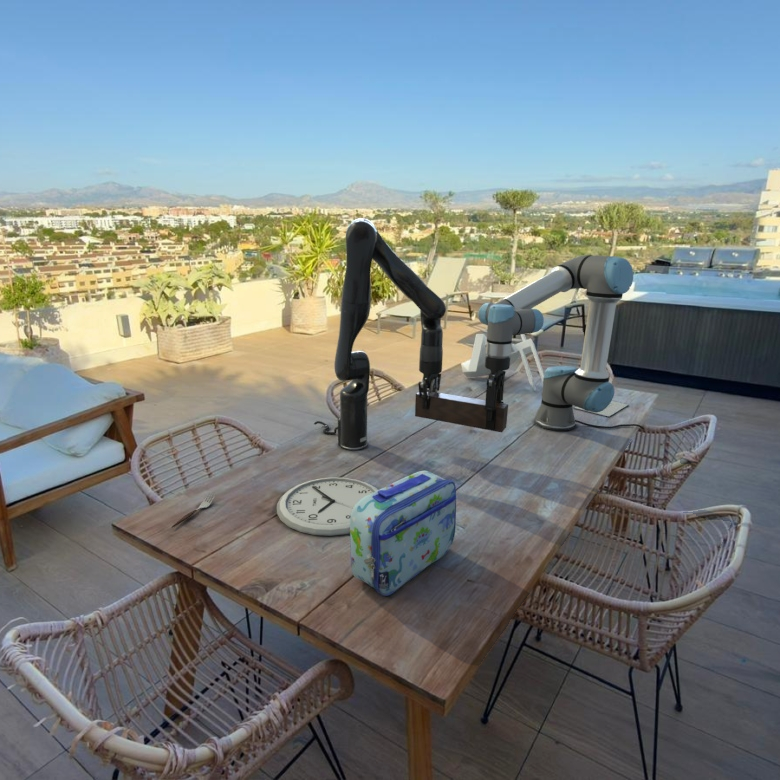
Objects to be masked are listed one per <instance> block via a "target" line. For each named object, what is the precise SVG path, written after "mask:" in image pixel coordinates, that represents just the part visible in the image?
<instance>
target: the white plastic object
mask: <svg viewBox="0 0 780 780" xmlns="http://www.w3.org/2000/svg"><path fill="white" fill-rule="evenodd" d="M519 336H520V338H521V341H520V342H517V343H512V345H511V355H510V356H509V357H510V366H511V365H512V364H515V362H517V361H518V360H520V359H521V361H522V364H523V367H524V370H525V373H526V377H527V379H528V382H529V384H530V387H532V389H533V390H534V391H537V390H536V389H537V387H536V383H535V380H534V376H533V373H532V370H531V368H530V365H529V362H528V358H527V355H528V354H531V353H532V355H533V357H534V362H535V364H536V367H537V371H538V374H539V376H540V379H541V382H542V383H543V380H544V379H543V378H544V375H545V371H544V369H543V366H542V362H541V360H540V356H539V355H538V351H537V347H536V344H535V343H534V341H533V339H532V338H530V337H529V338H527V337H526V334H520V335H519ZM485 344H487V335H486V334H485V333H476V334H475V338H474V342H473V347H472V351H471V356H470V359H468V360H466V361H463V362H461V363H460V366H461V371H462V373H463V374H464V376H465V377H466V378H477V377H484V376H489V374H490V372H491V370H490V369H487V368H486V367H485V357H486V356H487V354H486V347H485Z"/></svg>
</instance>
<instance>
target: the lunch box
mask: <svg viewBox="0 0 780 780" xmlns="http://www.w3.org/2000/svg"><path fill="white" fill-rule="evenodd" d="M456 519H457V488H456V484H455V482H454V480H452V479H449V478H448V479H447V478H446V479H445V478H442V477H440V476H439V475H437V474H434V473H432V471H428V470H419V471H417V472H414V473H412V474H410V475H407V476H405V477H403V478H400V479H399V480H396V481H394V482H392V483H390V484H388V485H386V486H384V487H382V488H380V489H379V490H378V491H376V492H374V493H372V494H370V495H367V496H365V497H364V498H362V499H360V500H359V501H358V502H357V503H356V505H355V506H354V508H353V510H352V513H351V517H350V533H349V540H350V566H351V573H352V575H353V577H354V578H355V579H357V580H359V581H362V582H363V583H365V584H367V585H368V586H370V587H371V588H373V589H374V590H375V592H376V593H378V594H379V595H381V596H386V597H387V596H390V595H392V594H394V593H395V592H396V591H398V590H399V589H400V588H401V587H402V586H404V585H405V584H407V583H408V582H409V581H411V580H412V579H413V578H415V577H416V576H418V575H419V574H420V573H421V572H423V571H424V570H425V569H426V568H428V566H430V565H432V564H434V563H435V562H437V561H438V560H440V559H441V558H442V557H444V556H445V555H446V554H447V553H448V552H449V550H450V548H451V547H452V545H453V542H454V539H455V535H456V524H457V523H456V522H457V520H456Z"/></svg>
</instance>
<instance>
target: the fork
mask: <svg viewBox="0 0 780 780" xmlns="http://www.w3.org/2000/svg"><path fill="white" fill-rule="evenodd" d="M216 495H217V494H212V493H208V494H207V495H206V497H205V498H204V499H203V501H202V502H201V503H200V505H198V507H197V508H196V509H193V510H192V511H190V512H188V513H187V514H185V515H183V517H181V518H180V519H179V520H178V521H176V522H175V523H174V524H173V525H172V526H171V529H173V528H175V527H176V526H178V525H179V524H181V523H183V522H184V521H186V520H188V519H189V518H191V517H192V516H193V515H194V514H195V513H197V511H198V510H200V509H207V508H208V507H210V505H211V504H212V502H213V501H214V499H215V497H216Z"/></svg>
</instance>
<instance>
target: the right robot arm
mask: <svg viewBox="0 0 780 780" xmlns="http://www.w3.org/2000/svg"><path fill="white" fill-rule="evenodd" d="M633 282H634V270H633V266H632V265H631V263H630V261H628V259H626V258H624V257H620V256H615V255H593V254H584V255H583V254H582V255H579V256H576V257H573V258H571V259H569V260H566V261H564V262H562V263H560V264H557V265H556V266H554V267H553V268H552V269H550V272H549V273H547V274H546V275H544V276H542V277H541V278H539V279H537V280H535V281H533V282H532V283H529V284H528V285H526V286H525V287H523V288H521V289H519V290H517V291H515V292H513V293H512V294H509V295H508V296H507V297H504V298H503V299H501V300H499V301H497V302H495V303H494V302H484V303H483V304H482V305H481V306H480V308H479V309H478V314H477V315H478V320H479V321H480V323H481V324H483V325H485V326H487V329H486V330H487V331H486V337H487V344H485V347H486V354H487V356H486V357H485V367H486V368H487V369H490V370H491V372H490V374H489V375H488V378H487V379H486V382H485V383H486V390H485V400H486V402H485V408H484V410H487V414H486V427H485V429H484V430H486V429H489V430H488V431H491V430H494V428H495V415H496V410H495V406H496V402H498V403H504V404H505V402H504V401H503V400H504V391H505V379H506V371H507V370H509V369H510V366H511V365H510V357H509V356H510V355H511V345H512V344H513V341H512V340H513V336H517V335H518V336H521V335H520V334H525V335H531V334H534V333H537V332H539V331H540V330H542V328H543V327H544V320H545V318H544V315H543V313H542V312H541V310H539V309H537V308H535V307H537V306H539V305H540V304H542V303H544V302H546V301H547V300H549V299H550V298H552V297H554V296H556V295H558V294H559V293H567V292H568V291H570V290H574V289H583V290H586V291H585V297H586V298H587V299H588V300H589V304H588V311H587V318H586V325H585V333H584V338H583V339H584V340H583V345H582V352H581V353H582V354H581V360H580V367H579V368H577V367H574V366H569V365H568V366H567V365H557V366H550V367H547V368H546V369H545V371H544V374H545V375H544V378H543V379H544V380H543V382H542V392H541V402H540V405H539V407H538V410H537V411H536V413H535V416H534V424H535V425H536V426H537V427H539V428H542V429H544V430H549V431H556V432H567V431H572V430H574V429H575V428H576V423H577V424H580V425H584V426H588V427H591V428H592V427H593V428H599V429H615V428H620V427H638V428H640V429H641V430H645V427H644V426H642V425H640V424H638V423H633V424H632V423H629V424H627V423H624V424H623V423H622V424H617V425H612V426H609V425H608V426H606V425H605V426H604V425H596V424H591V423H586V422H583V421H580V420H578V419H576V418H575V417H576V416H575V413H574V407H579V408H582V409H584V410H586V411H585V412H588V411H591V412H590V413H592V412H601V411H603V410H604V409H605V408H607V406H608V405H609V404H610V403H611V401H613V399H614V396H615V387H614V385H613V383H611V382H609V381H610V373H608V371H607V365H608V358H609V354H610V347H611V346H610V345H611V340H612V333H613V326H614V321H615V315H616V308H617V303H618V302H619V301H620V300H622V299H623V296H624V294H626V293H627V292H628V291H629V290H630V289H631V287H632V285H633ZM573 406H574V407H573ZM584 410H583V411H584Z"/></svg>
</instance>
